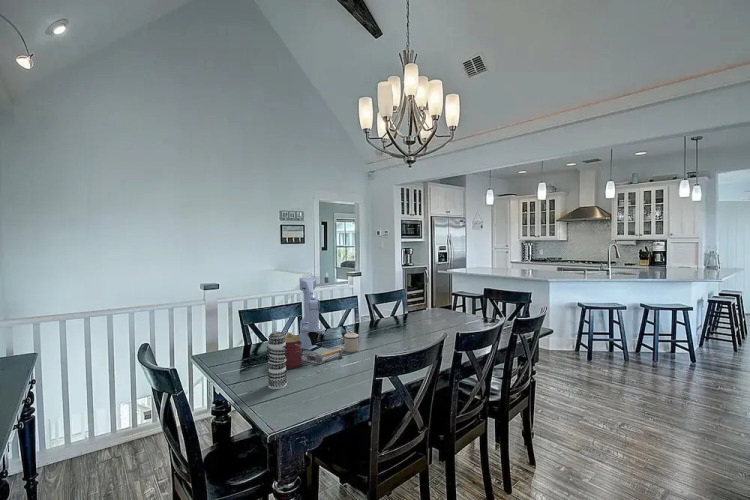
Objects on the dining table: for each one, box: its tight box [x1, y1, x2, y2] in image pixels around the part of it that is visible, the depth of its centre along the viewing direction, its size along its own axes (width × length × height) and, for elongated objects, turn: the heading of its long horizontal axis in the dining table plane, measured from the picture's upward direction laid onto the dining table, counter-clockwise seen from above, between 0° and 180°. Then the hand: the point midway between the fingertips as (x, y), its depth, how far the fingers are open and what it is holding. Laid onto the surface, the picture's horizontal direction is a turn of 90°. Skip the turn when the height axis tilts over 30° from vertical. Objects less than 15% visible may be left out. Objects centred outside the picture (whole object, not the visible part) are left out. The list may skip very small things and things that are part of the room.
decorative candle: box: [266, 331, 288, 390], centre depth 179 cm, size 9×9×25 cm
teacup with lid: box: [338, 330, 360, 353], centre depth 232 cm, size 12×9×12 cm
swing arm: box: [316, 347, 346, 362], centre depth 214 cm, size 20×3×4 cm, turn 136°
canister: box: [285, 332, 303, 369], centre depth 207 cm, size 13×13×18 cm
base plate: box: [302, 347, 344, 365], centre depth 219 cm, size 21×22×4 cm
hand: (313, 345), depth 214 cm, fingers closed
